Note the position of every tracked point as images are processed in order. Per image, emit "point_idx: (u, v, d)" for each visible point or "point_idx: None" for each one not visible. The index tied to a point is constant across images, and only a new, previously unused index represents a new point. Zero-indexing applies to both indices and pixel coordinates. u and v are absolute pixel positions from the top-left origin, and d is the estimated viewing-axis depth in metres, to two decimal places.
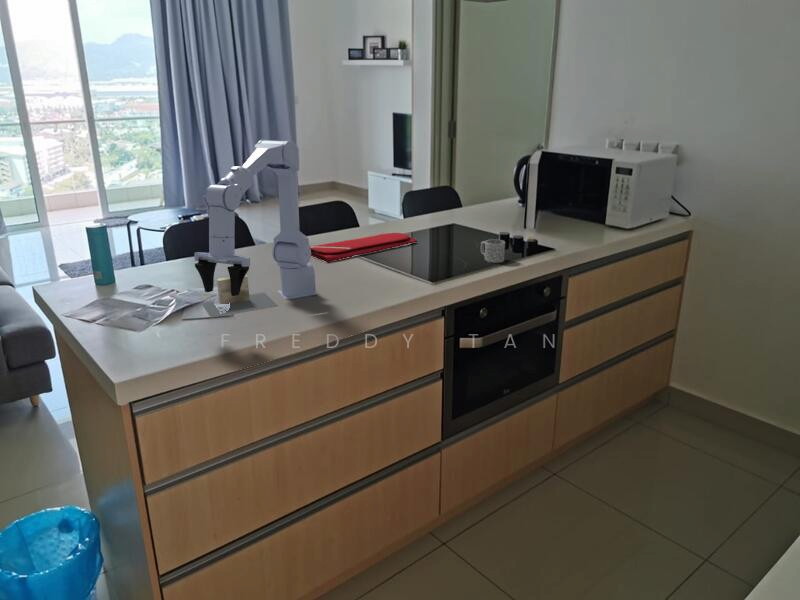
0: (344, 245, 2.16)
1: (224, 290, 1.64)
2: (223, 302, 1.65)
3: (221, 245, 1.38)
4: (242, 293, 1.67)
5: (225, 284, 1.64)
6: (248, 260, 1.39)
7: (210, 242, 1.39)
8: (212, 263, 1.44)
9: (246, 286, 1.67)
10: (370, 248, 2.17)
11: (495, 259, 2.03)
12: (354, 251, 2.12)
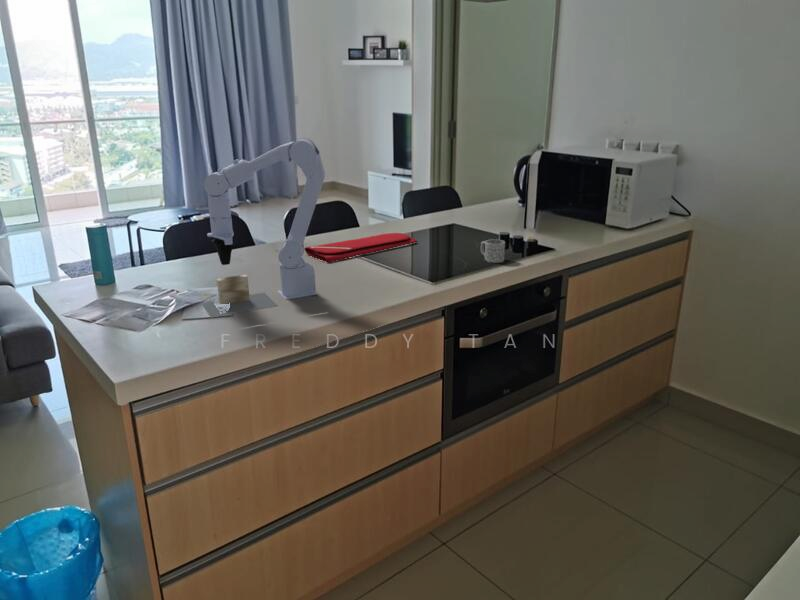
0: (344, 245, 2.15)
1: (224, 290, 1.64)
2: (223, 302, 1.65)
3: (214, 225, 1.64)
4: (242, 293, 1.67)
5: (225, 284, 1.64)
6: (229, 239, 1.61)
7: None
8: None
9: (246, 286, 1.67)
10: (370, 248, 2.16)
11: (495, 259, 2.03)
12: (354, 251, 2.12)
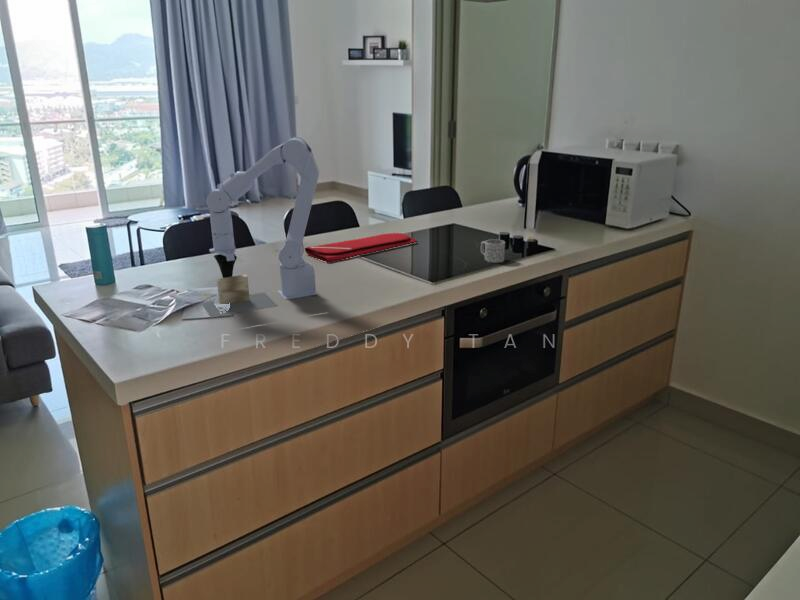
0: (344, 245, 2.15)
1: (224, 290, 1.64)
2: (223, 302, 1.65)
3: (216, 241, 1.65)
4: (242, 293, 1.67)
5: (225, 284, 1.64)
6: (231, 255, 1.62)
7: None
8: None
9: (246, 286, 1.67)
10: (370, 248, 2.16)
11: (495, 259, 2.03)
12: (354, 251, 2.12)
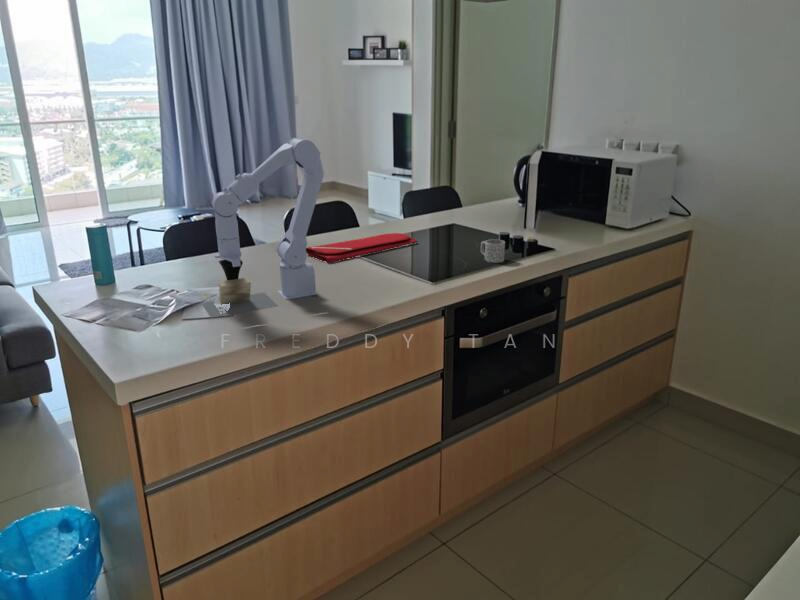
0: (345, 246, 2.15)
1: (226, 293, 1.63)
2: (223, 303, 1.65)
3: (221, 246, 1.60)
4: (243, 295, 1.66)
5: (227, 289, 1.62)
6: (237, 261, 1.57)
7: None
8: None
9: (248, 289, 1.66)
10: (371, 249, 2.16)
11: (495, 259, 2.03)
12: (355, 252, 2.12)
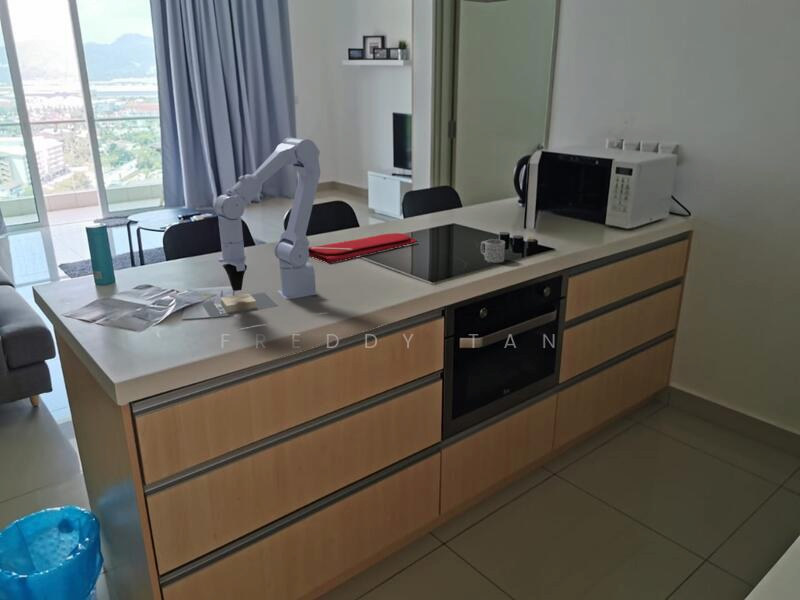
0: (345, 246, 2.14)
1: None
2: None
3: (225, 249, 1.56)
4: None
5: None
6: (242, 265, 1.53)
7: None
8: None
9: None
10: (371, 249, 2.16)
11: (495, 259, 2.03)
12: (355, 252, 2.11)
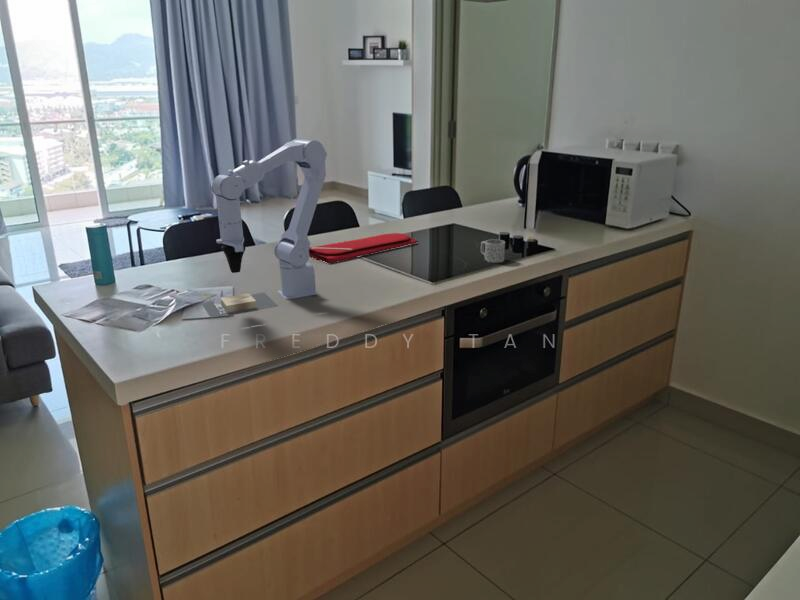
0: (345, 246, 2.14)
1: None
2: None
3: (223, 230, 1.54)
4: None
5: None
6: (240, 246, 1.51)
7: None
8: None
9: None
10: (371, 249, 2.15)
11: (495, 259, 2.03)
12: (355, 252, 2.11)
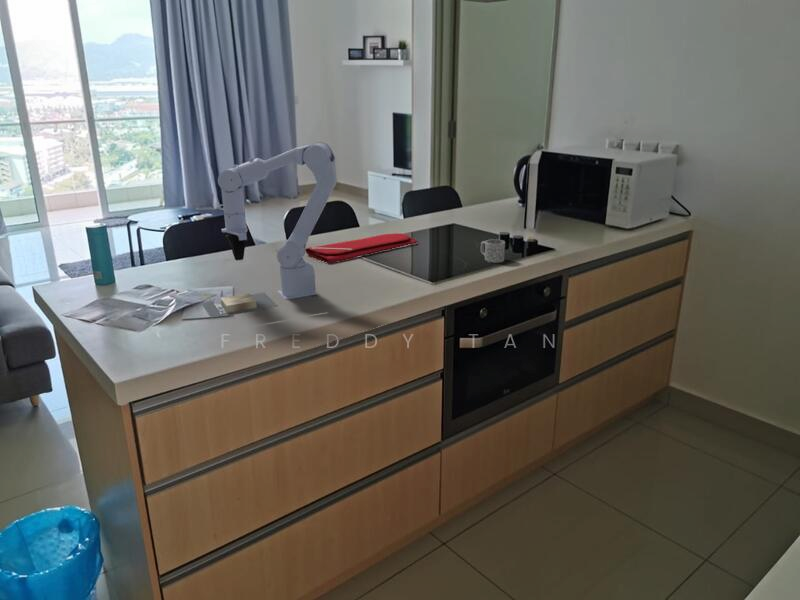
0: (345, 246, 2.14)
1: None
2: None
3: (228, 220, 1.65)
4: None
5: None
6: (244, 235, 1.63)
7: None
8: None
9: None
10: (371, 249, 2.15)
11: (495, 259, 2.03)
12: (355, 252, 2.11)
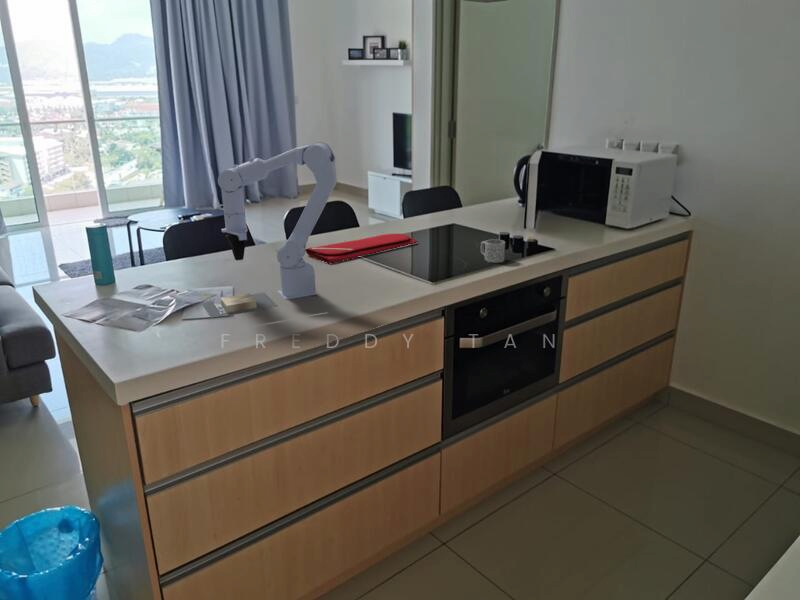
0: (345, 246, 2.14)
1: None
2: None
3: (228, 220, 1.65)
4: None
5: None
6: (244, 235, 1.63)
7: None
8: None
9: None
10: (372, 249, 2.15)
11: (495, 259, 2.03)
12: (356, 252, 2.11)
